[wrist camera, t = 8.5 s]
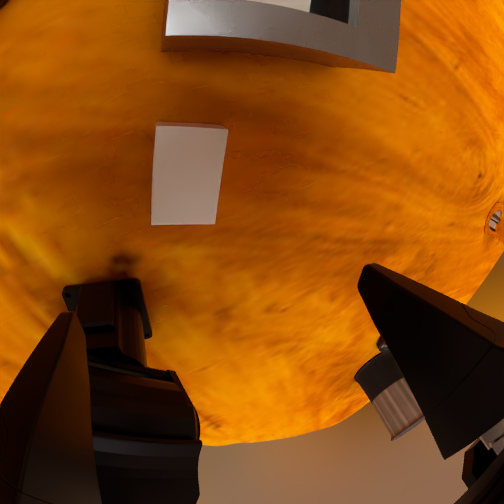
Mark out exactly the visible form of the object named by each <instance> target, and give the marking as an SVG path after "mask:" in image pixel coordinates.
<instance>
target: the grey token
mask: <svg viewBox="0 0 504 504" xmlns="http://www.w3.org/2000/svg"><path fill="white" fill-rule="evenodd" d="M228 131H229V130H228V129H227V128H225V127H224V126H222V125H213V124H200V123H182V122H156V128H155V140H154V153H153V169H152V191H151V225H182V224H215V220H216V213H217V205H218V198H219V191H220V183H221V177H222V170H223V163H224V156H225V150H226V144H227V137H228Z"/></svg>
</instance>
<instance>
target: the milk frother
mask: <svg viewBox="0 0 504 504" xmlns="http://www.w3.org/2000/svg"><path fill="white" fill-rule="evenodd" d="M378 348H379V351H380V352H383V353H381V354H379V355H378V356H376V357H375V358H373V359H372V360H370V361H369V362H368V363H367V364H365V365H364V366H363V367H362V368H361V369H360V370H359V371H358V373H357V374H356V376H355V381H356V382H358V383H359V384H360V386H361V387H362V389H363V390H364V392H365V393H366V395H367V396H368V398H369V399H370V401H371V403H372V404H373V406H374V408H375V409H376V411H377V413H378V414H379V416H380V418H381V419H382V421H383V422H384V424H385V426H386V428H387V429H388V431H389V433H390V434H391V441H393V440H395V439H397V438H399V437H400V436H402V435H403V434H405V433H406V432H408V431H409V430H411V429H412V428H414V427H415V426H416V425H418V424H419V423H421V422H422V421H423V420H425V418H424V416H423V414H422V412H421V410H420V408H419V406H418V404H417V402H416V400H415V398H414V396H413V394H412V392H411V390H410V388H409V386H408V384H407V382H406V380H405V378H404V377H403V375H402V373H401V371H400V369H399V367H398V365H397V364H396V362H395V360H394V358H393V356H392V355H391V353H390V351H389V349H388V347H387V346H386V344H385V342H384V340H383V339H382V340H381V341H380V342H379V344H378Z"/></svg>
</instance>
